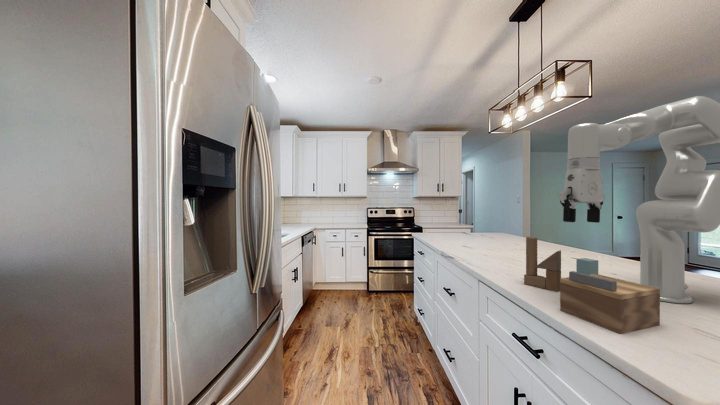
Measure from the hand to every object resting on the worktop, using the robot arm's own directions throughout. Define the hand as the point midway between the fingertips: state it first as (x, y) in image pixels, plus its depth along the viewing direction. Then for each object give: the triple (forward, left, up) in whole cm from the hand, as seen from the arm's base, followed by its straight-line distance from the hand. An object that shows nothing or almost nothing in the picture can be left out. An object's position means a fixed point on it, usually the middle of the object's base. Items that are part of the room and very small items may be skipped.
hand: (581, 222), depth 79 cm
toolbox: (+3, +8, -25) cm, 27 cm away
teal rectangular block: (-11, -5, -25) cm, 28 cm away
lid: (+3, +8, -17) cm, 19 cm away
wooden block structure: (-4, -16, -26) cm, 30 cm away
